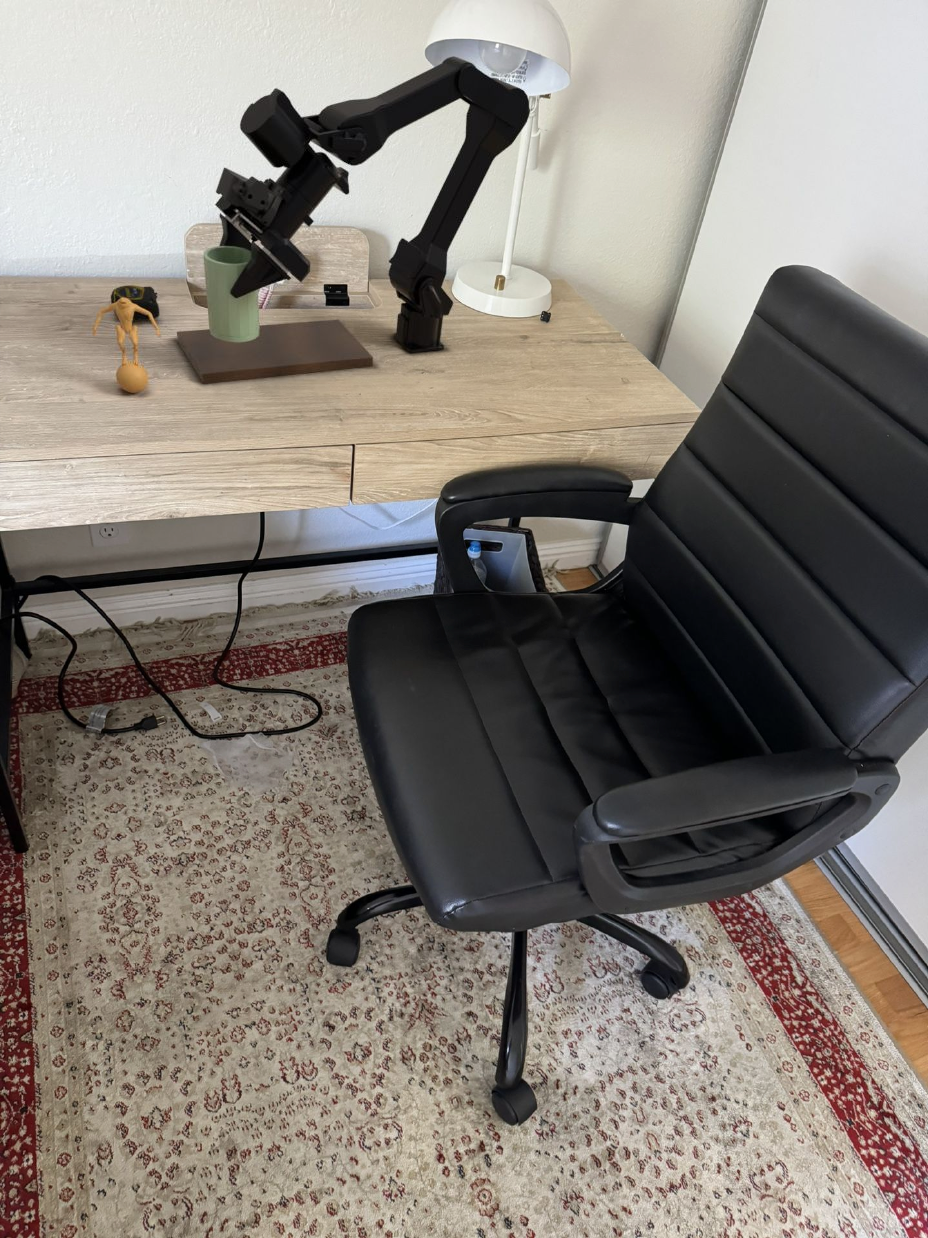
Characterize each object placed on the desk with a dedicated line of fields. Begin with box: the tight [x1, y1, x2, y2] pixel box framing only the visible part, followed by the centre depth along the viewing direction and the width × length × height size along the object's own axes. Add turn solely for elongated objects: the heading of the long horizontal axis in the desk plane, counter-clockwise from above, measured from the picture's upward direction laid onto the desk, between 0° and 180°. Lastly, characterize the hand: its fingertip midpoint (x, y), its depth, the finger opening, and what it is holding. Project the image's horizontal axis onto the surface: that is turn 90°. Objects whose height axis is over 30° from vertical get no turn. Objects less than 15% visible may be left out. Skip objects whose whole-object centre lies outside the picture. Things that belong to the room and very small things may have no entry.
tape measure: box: [110, 284, 160, 321], centre depth 125 cm, size 7×7×4 cm
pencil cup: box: [202, 245, 260, 342], centre depth 110 cm, size 7×7×10 cm
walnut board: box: [176, 319, 374, 385], centre depth 122 cm, size 26×14×2 cm, turn 118°
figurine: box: [92, 297, 162, 394], centre depth 106 cm, size 8×6×12 cm
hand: (222, 285), depth 108 cm, fingers closed on pencil cup, 7 cm apart
